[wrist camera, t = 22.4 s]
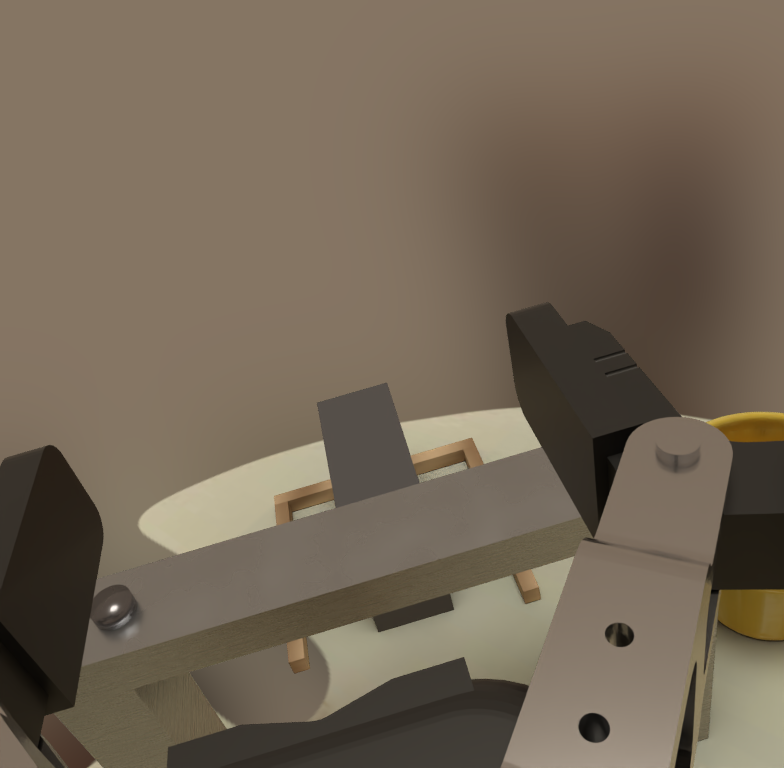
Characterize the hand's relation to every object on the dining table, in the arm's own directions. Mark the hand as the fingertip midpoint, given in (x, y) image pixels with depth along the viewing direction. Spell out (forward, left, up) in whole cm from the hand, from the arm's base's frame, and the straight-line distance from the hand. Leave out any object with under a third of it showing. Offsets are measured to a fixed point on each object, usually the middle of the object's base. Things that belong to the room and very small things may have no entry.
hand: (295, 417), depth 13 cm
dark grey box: (0, +25, -32) cm, 41 cm away
